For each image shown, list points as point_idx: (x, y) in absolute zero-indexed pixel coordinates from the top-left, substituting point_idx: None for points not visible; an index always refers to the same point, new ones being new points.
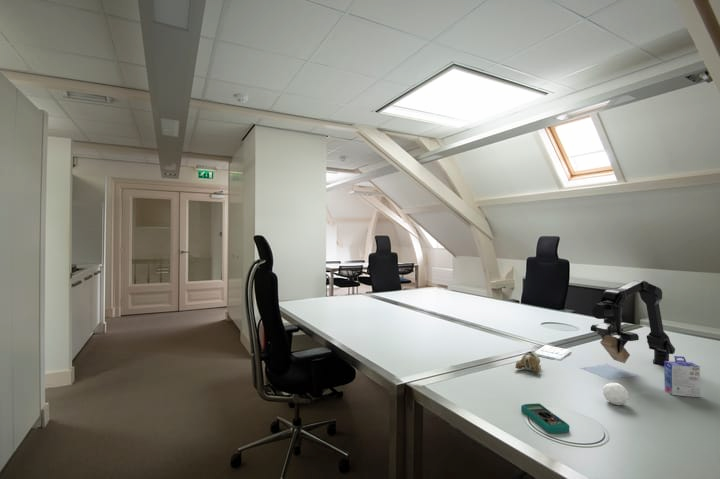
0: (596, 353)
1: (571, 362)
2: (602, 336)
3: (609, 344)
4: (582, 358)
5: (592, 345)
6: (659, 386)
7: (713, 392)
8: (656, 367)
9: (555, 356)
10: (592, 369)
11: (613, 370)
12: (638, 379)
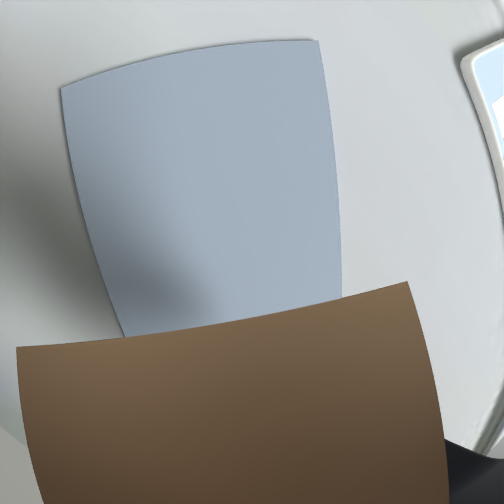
0: (452, 373)
1: (432, 107)
2: (484, 488)
3: (61, 378)
4: (457, 253)
5: (483, 399)
6: (2, 330)
7: (14, 437)
8: None
9: (496, 82)
10: (274, 114)
11: (224, 277)
12: (74, 314)
